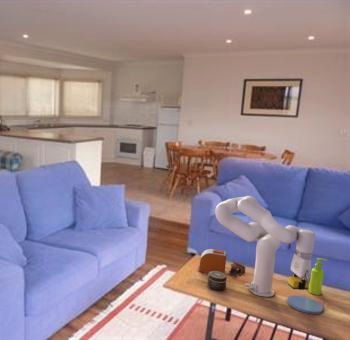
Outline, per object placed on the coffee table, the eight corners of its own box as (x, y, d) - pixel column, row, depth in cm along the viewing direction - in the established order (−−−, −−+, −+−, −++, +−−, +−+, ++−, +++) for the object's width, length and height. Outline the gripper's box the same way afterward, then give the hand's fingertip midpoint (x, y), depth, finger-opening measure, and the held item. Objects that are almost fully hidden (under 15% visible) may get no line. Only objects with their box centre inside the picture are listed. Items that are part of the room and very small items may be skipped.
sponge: (293, 289, 190) (294, 281, 190) (287, 284, 195) (289, 276, 195) (308, 289, 191) (309, 281, 190) (302, 284, 196) (303, 277, 195)
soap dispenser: (324, 295, 204) (329, 261, 200) (310, 294, 205) (315, 260, 201) (320, 290, 209) (325, 257, 206) (307, 289, 211) (311, 255, 207)
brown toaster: (224, 270, 231) (226, 249, 228) (224, 276, 223) (226, 254, 220) (200, 266, 236) (202, 245, 233) (198, 271, 228) (200, 250, 226)
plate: (298, 313, 184) (298, 311, 184) (281, 297, 200) (281, 295, 200) (329, 314, 185) (330, 311, 185) (310, 297, 201) (310, 295, 201)
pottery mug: (224, 272, 229) (229, 260, 230) (236, 278, 230) (241, 266, 232) (235, 276, 217) (240, 263, 218) (248, 282, 219) (253, 269, 220)
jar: (208, 281, 215) (209, 269, 213) (226, 285, 211) (228, 273, 209) (205, 288, 206) (207, 276, 205) (224, 293, 202) (226, 280, 200)
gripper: (287, 247, 198) (282, 278, 201) (306, 260, 181) (300, 294, 185) (300, 247, 198) (295, 279, 202) (321, 261, 182) (315, 295, 185)
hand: (298, 286), depth 193 cm, fingers closed on sponge, 5 cm apart
